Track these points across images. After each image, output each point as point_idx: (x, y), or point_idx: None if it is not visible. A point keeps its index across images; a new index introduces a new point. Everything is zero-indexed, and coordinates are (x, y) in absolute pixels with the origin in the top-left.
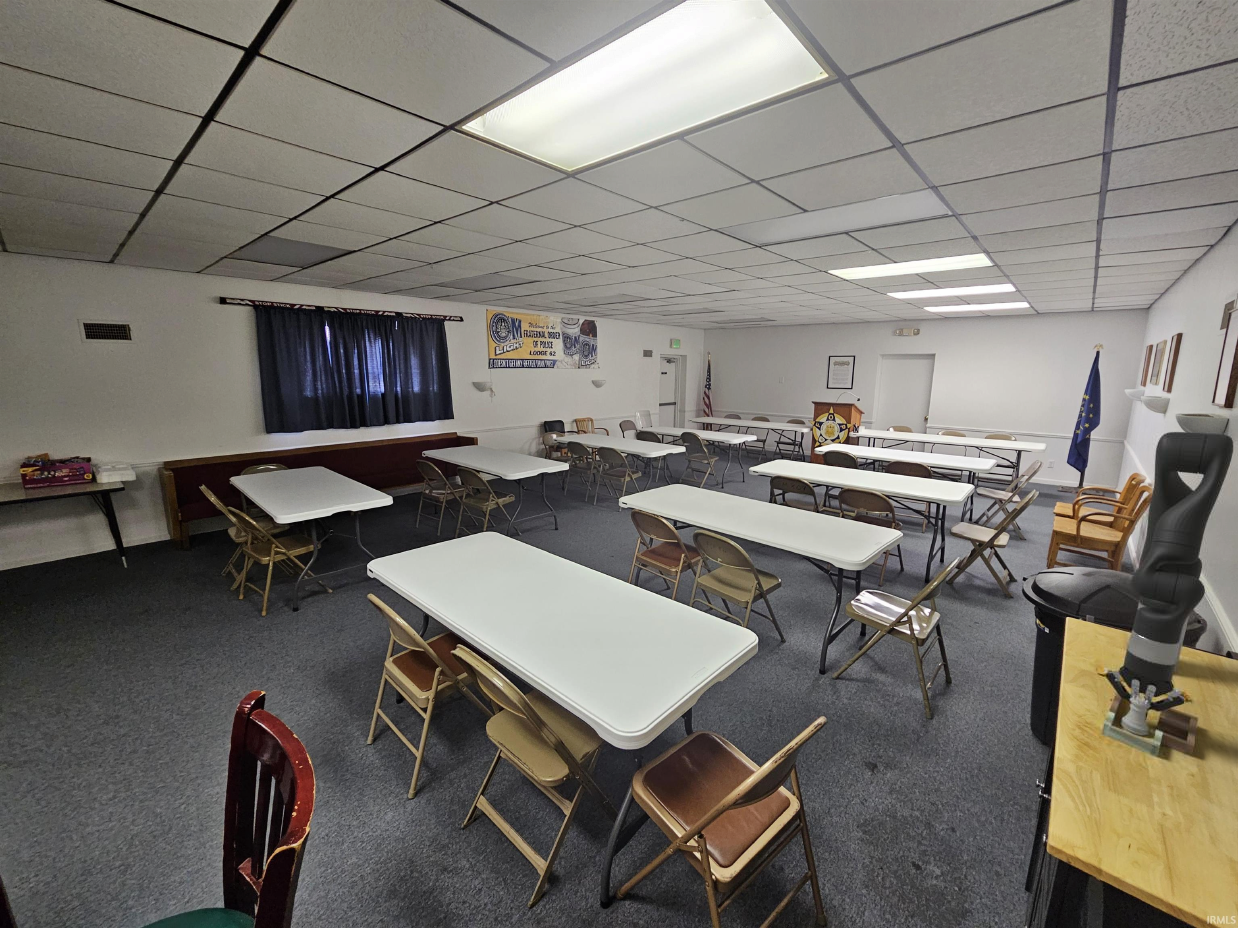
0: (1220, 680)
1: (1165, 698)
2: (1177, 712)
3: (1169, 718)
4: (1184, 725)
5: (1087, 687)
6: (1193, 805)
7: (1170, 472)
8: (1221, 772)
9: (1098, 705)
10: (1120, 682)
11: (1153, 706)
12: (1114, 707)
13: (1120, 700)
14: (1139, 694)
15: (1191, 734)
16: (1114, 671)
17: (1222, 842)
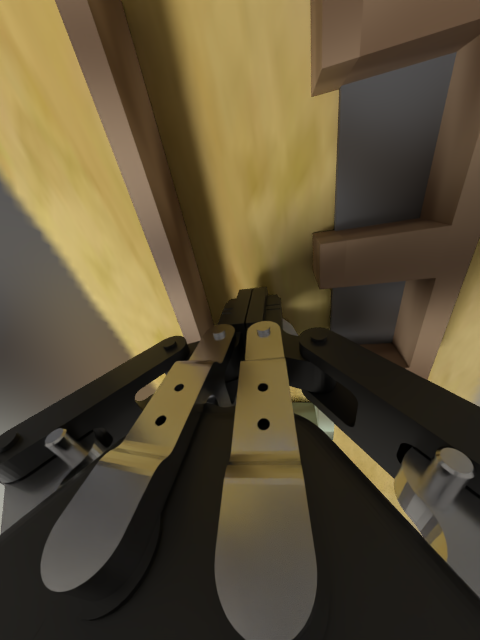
0: None
1: (370, 392)
2: (418, 40)
3: (355, 91)
4: (427, 233)
5: (48, 158)
6: (380, 483)
7: None
8: (473, 368)
9: (154, 284)
10: (113, 406)
11: (302, 389)
12: (193, 337)
13: (168, 211)
14: (224, 372)
15: (440, 298)
16: (10, 510)
17: (405, 514)
